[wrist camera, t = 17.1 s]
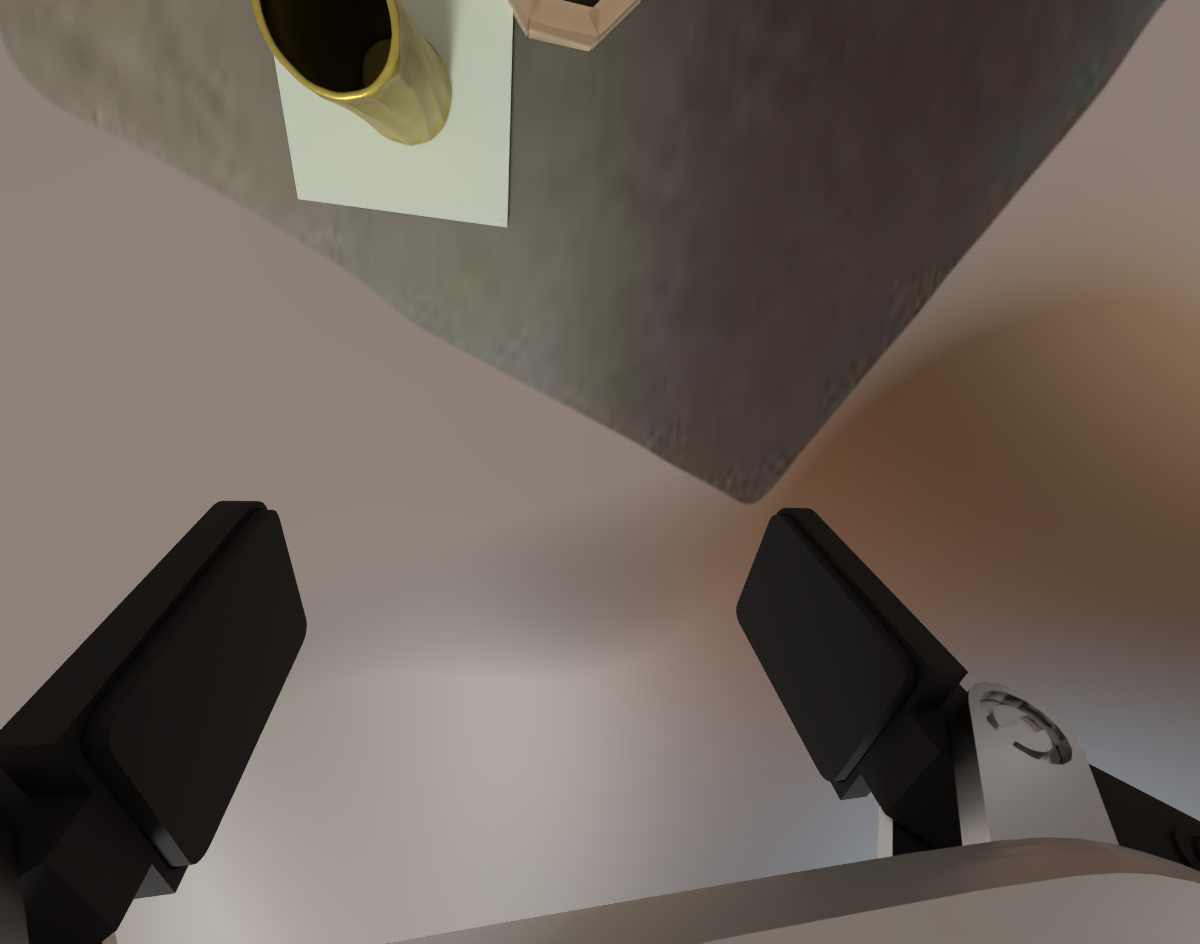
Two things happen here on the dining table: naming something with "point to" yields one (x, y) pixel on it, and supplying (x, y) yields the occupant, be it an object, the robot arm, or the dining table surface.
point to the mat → (430, 170)
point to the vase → (362, 61)
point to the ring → (570, 20)
